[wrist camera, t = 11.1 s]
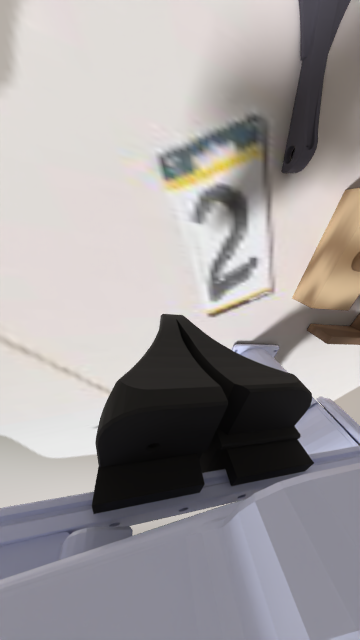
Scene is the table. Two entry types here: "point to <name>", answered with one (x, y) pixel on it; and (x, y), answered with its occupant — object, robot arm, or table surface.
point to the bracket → (311, 78)
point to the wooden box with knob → (335, 260)
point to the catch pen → (337, 333)
